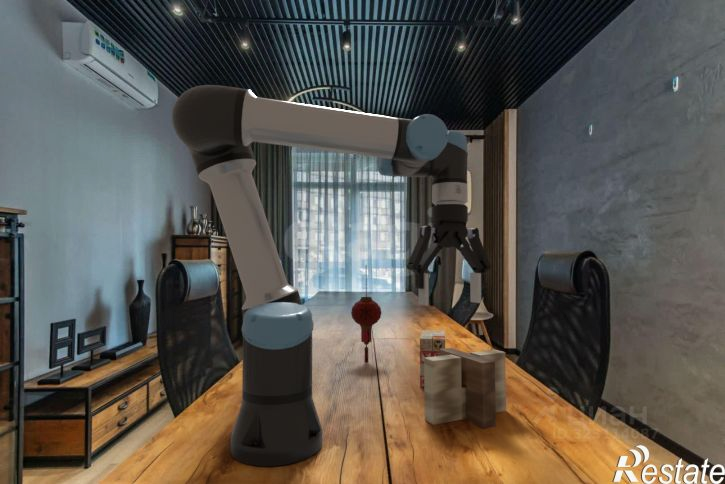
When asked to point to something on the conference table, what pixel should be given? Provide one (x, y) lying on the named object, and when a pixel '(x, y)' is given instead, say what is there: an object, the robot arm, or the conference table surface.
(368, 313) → the lantern
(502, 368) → the grey notched block
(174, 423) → the conference table surface
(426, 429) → the conference table surface
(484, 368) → the tall brown wooden block
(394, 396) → the conference table surface
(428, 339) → the red and beige box
